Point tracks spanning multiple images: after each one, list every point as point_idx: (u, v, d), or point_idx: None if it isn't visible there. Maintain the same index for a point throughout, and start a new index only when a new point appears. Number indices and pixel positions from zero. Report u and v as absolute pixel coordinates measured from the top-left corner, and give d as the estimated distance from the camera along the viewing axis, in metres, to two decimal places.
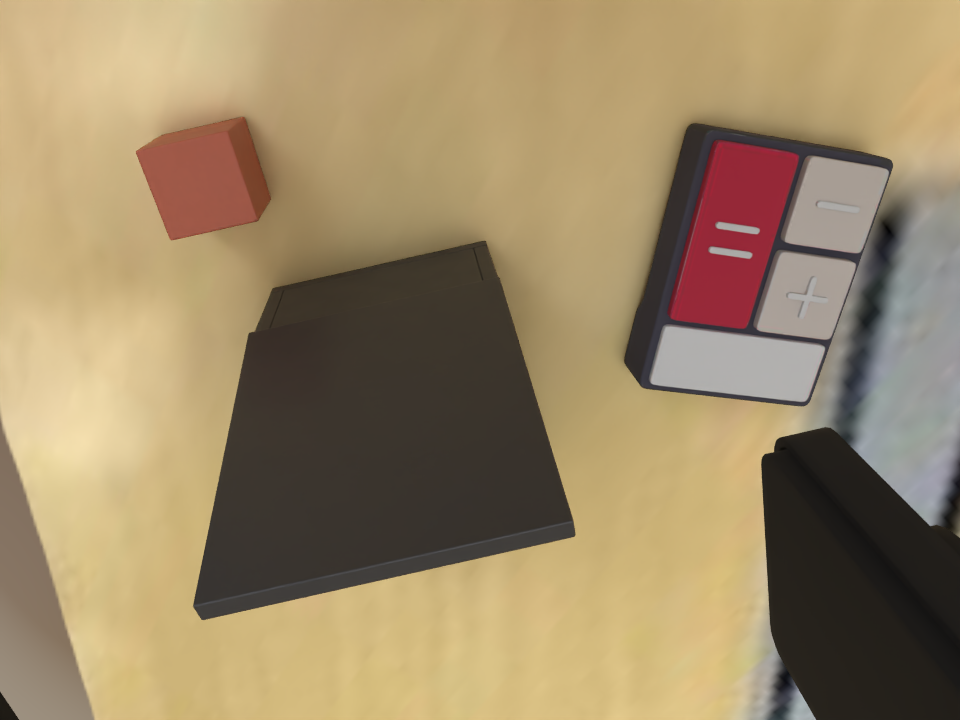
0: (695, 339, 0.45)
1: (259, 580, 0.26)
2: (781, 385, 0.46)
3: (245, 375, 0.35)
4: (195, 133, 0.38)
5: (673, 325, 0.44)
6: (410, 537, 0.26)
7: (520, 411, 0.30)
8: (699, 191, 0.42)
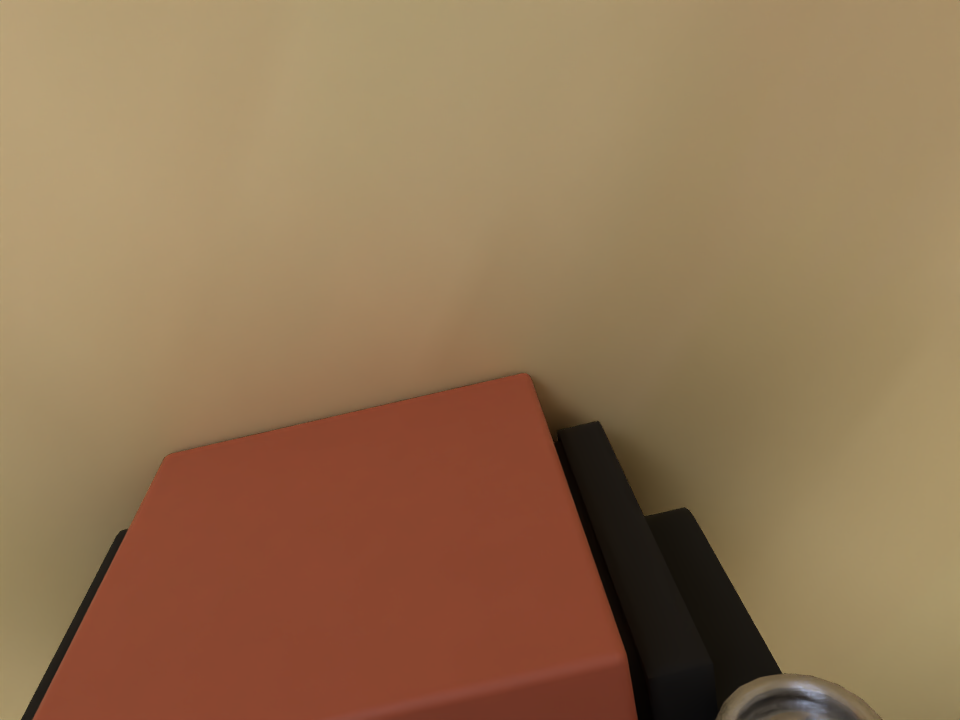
0: None
1: None
2: None
3: None
4: (359, 558, 0.07)
5: None
6: None
7: None
8: None
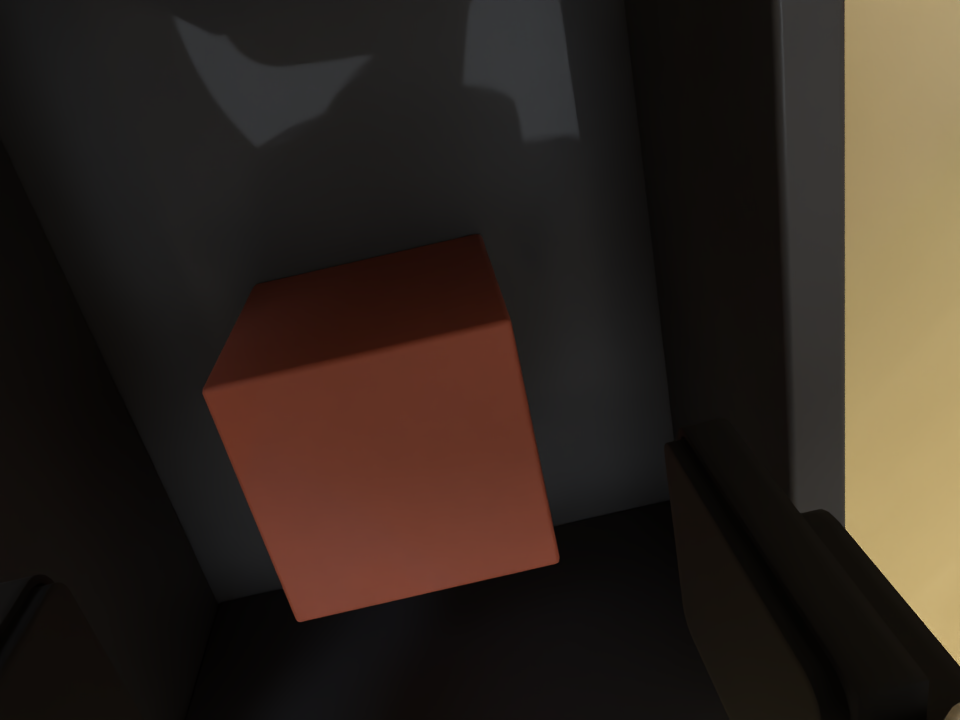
0: None
1: None
2: None
3: None
4: (378, 307, 0.12)
5: None
6: None
7: None
8: None
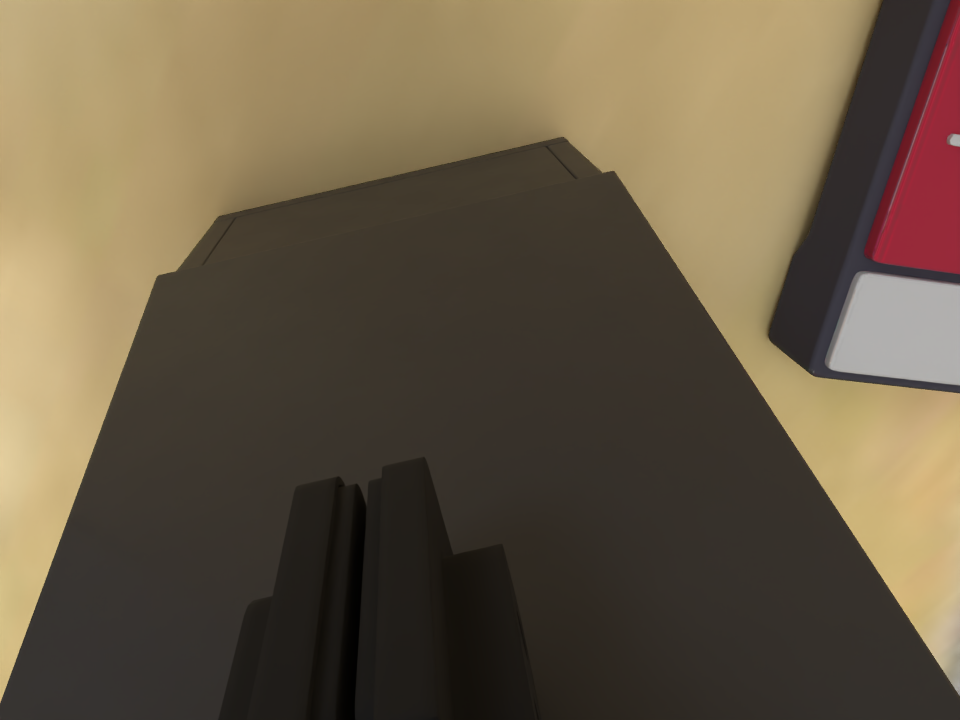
0: (907, 295, 0.27)
1: None
2: None
3: (138, 355, 0.18)
4: None
5: (872, 272, 0.27)
6: None
7: (742, 437, 0.13)
8: (938, 37, 0.24)
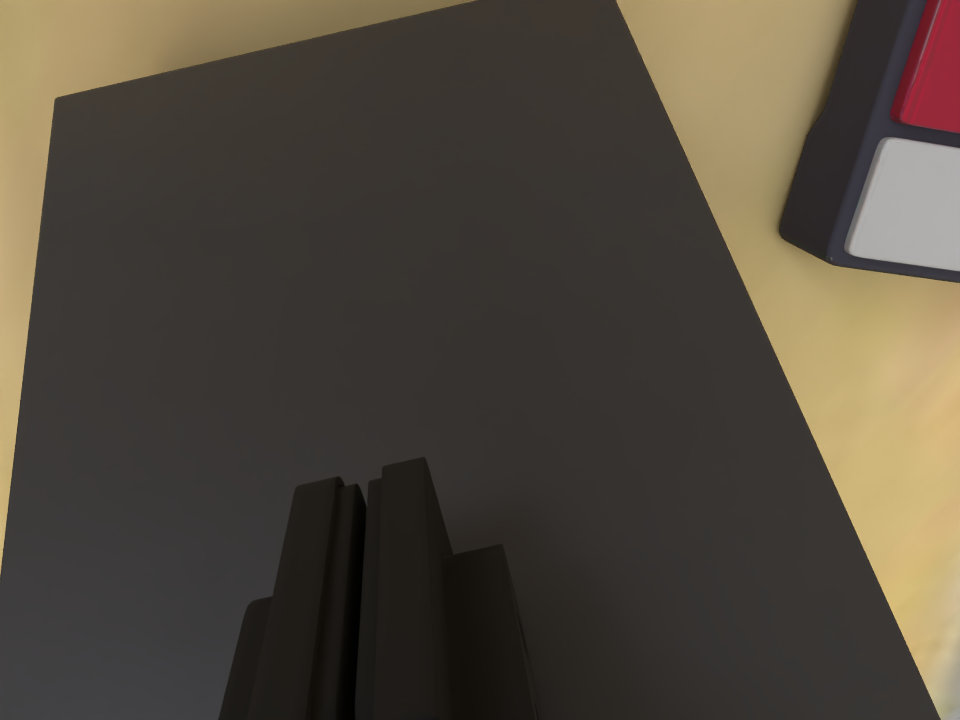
0: (939, 165, 0.24)
1: None
2: None
3: (54, 219, 0.16)
4: None
5: (900, 138, 0.24)
6: None
7: (736, 372, 0.12)
8: None
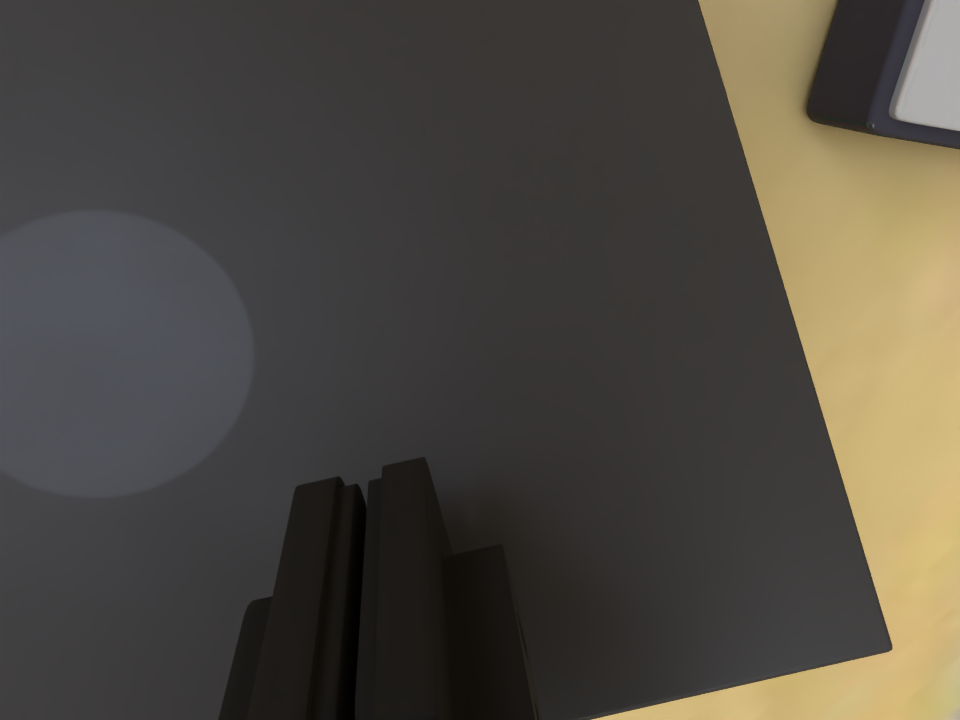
0: None
1: None
2: None
3: None
4: None
5: None
6: None
7: (725, 255, 0.12)
8: None
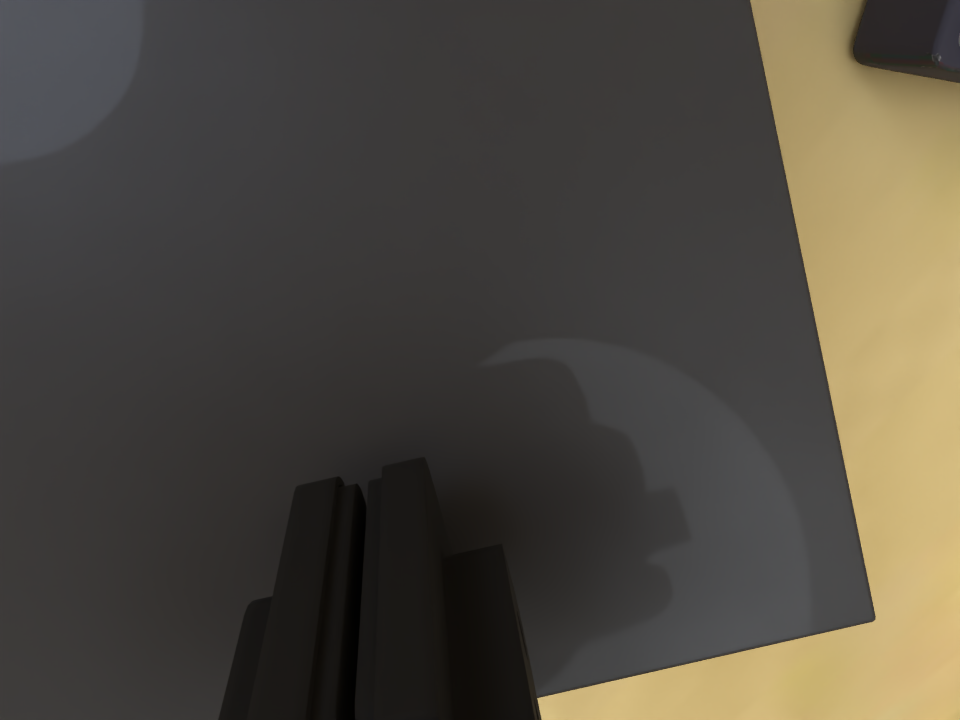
0: None
1: None
2: None
3: None
4: None
5: None
6: None
7: (742, 219, 0.11)
8: None
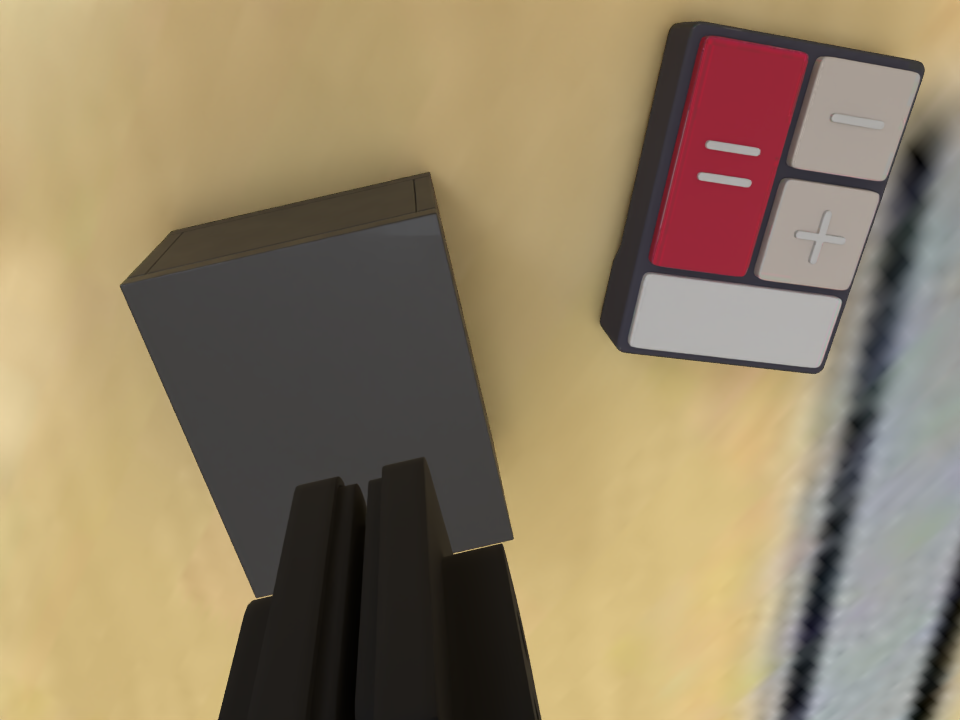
0: (683, 290, 0.37)
1: None
2: (788, 347, 0.38)
3: (163, 368, 0.32)
4: None
5: (655, 273, 0.36)
6: None
7: (473, 440, 0.35)
8: (685, 102, 0.34)
